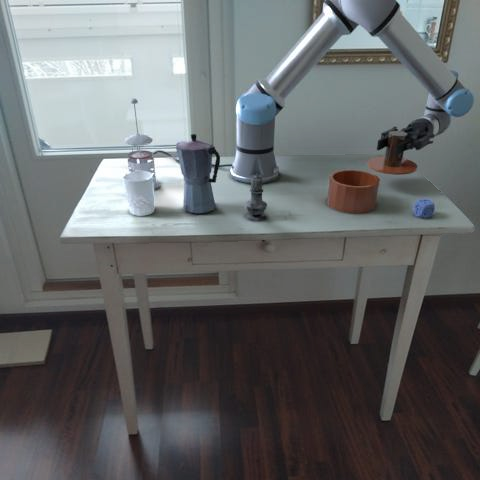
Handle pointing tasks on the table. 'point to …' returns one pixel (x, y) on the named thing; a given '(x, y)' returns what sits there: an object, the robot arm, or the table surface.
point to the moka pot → (197, 174)
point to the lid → (393, 157)
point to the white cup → (139, 192)
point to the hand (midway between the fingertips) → (388, 147)
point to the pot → (352, 191)
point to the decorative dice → (424, 208)
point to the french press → (141, 153)
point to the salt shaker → (256, 200)
